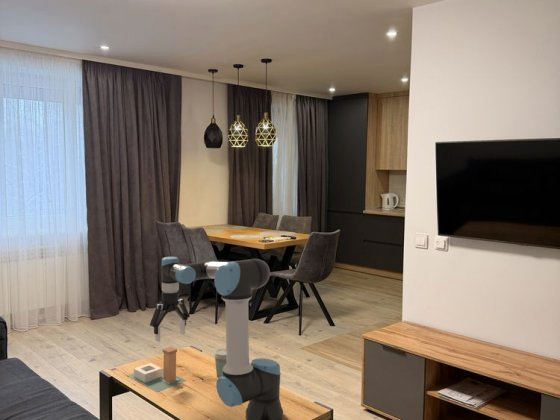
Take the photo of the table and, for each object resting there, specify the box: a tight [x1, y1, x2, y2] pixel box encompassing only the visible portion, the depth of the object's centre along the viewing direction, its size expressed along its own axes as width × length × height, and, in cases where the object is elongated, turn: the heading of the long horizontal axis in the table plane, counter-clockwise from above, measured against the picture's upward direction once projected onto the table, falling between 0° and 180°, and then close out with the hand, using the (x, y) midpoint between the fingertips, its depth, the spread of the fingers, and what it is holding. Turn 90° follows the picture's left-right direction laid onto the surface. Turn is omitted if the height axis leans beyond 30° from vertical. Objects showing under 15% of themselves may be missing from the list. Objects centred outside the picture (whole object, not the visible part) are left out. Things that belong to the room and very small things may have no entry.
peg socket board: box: [126, 362, 187, 393], centre depth 226 cm, size 24×16×6 cm, turn 49°
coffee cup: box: [213, 348, 227, 379], centre depth 233 cm, size 8×8×12 cm
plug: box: [162, 346, 178, 382], centre depth 224 cm, size 5×5×14 cm
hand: (170, 337), depth 222 cm, fingers open, 13 cm apart
